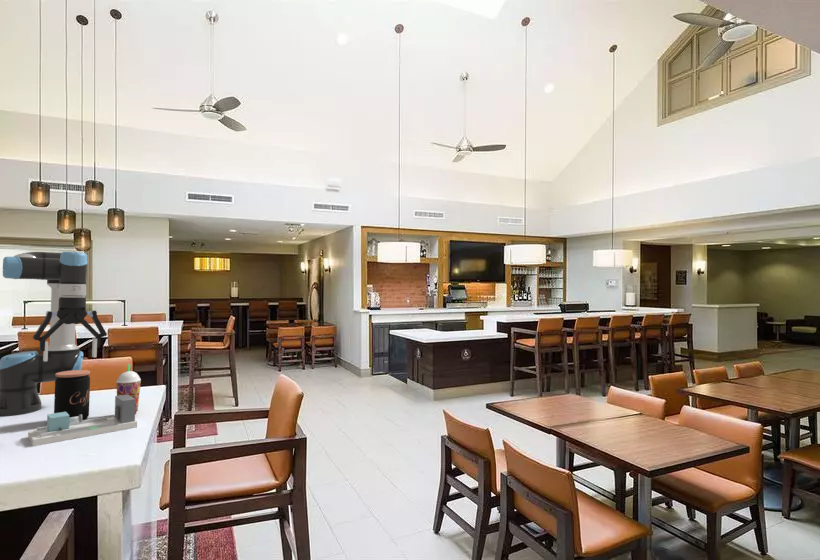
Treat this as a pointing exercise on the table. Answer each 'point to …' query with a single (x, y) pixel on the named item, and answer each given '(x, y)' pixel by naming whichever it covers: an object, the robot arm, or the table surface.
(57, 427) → the gauge slider
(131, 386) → the smoothie
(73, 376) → the coffee jar
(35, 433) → the board
